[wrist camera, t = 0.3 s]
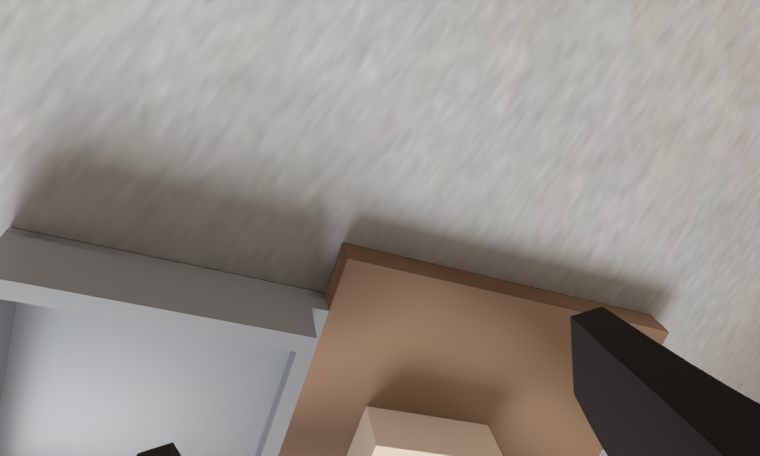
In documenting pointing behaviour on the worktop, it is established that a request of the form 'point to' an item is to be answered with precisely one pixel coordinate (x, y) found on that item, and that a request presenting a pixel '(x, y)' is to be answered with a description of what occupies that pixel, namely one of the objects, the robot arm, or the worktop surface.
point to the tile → (419, 436)
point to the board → (445, 357)
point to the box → (145, 353)
